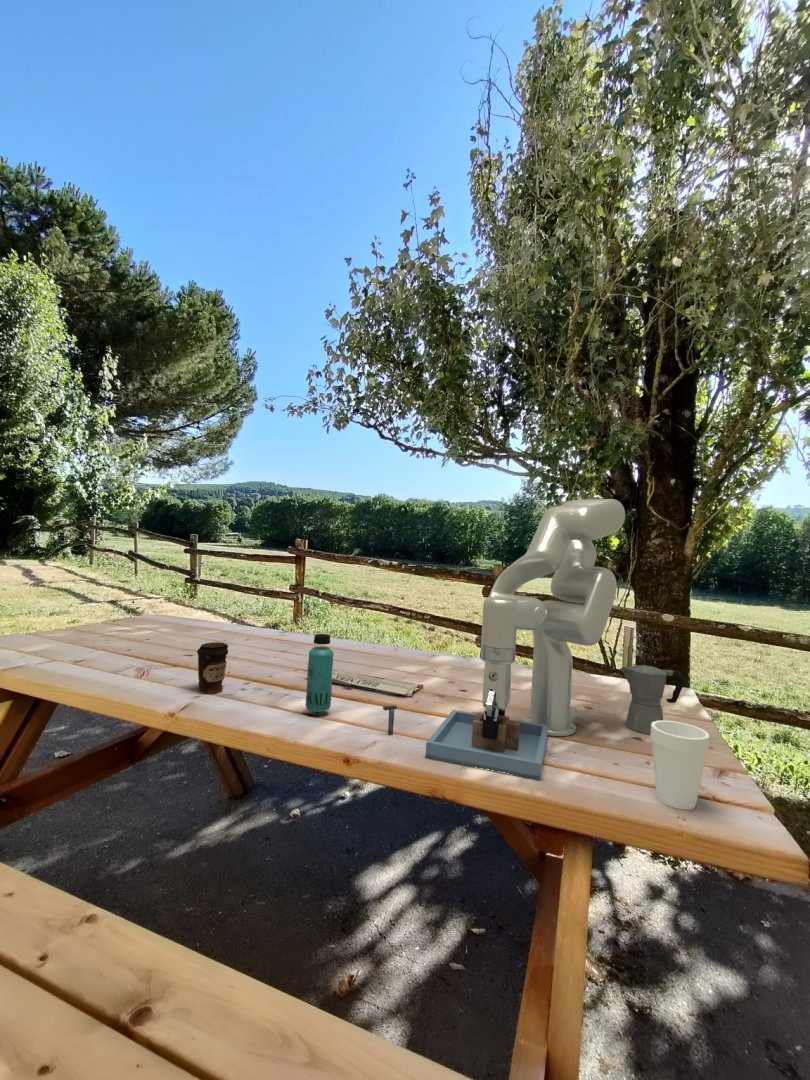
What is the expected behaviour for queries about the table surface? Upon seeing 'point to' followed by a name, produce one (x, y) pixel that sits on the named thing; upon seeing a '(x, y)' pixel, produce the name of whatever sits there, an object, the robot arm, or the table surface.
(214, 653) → the coffee cup
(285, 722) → the table surface
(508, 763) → the slate tray
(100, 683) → the table surface
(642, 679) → the coffeepot
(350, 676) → the newspaper
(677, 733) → the foam cup
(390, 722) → the t head stake
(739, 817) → the table surface
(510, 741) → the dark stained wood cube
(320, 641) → the beverage bottle
